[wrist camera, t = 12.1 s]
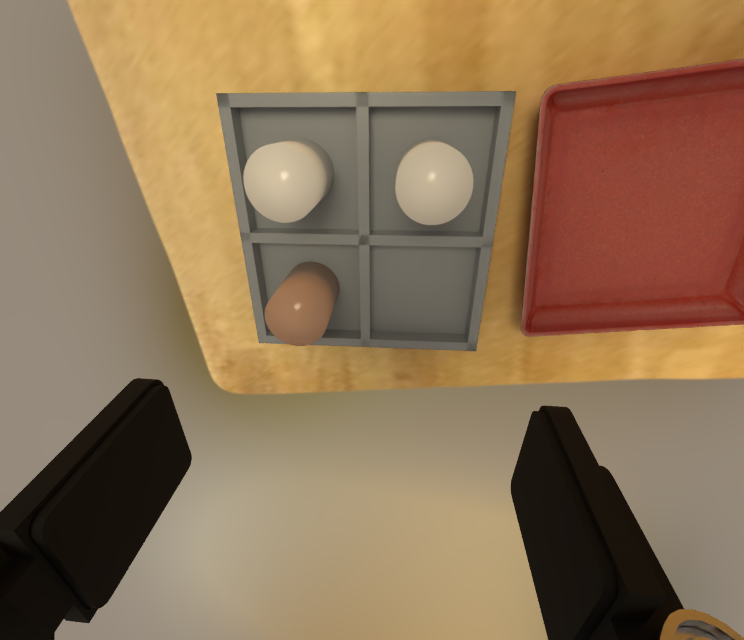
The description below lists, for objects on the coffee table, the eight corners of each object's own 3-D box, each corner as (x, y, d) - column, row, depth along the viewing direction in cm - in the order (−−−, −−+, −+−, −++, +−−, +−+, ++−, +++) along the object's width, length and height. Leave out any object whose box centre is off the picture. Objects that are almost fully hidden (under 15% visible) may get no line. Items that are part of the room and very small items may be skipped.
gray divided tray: (230, 95, 27) (216, 93, 25) (507, 93, 26) (516, 91, 23) (267, 330, 36) (258, 342, 34) (471, 337, 35) (476, 351, 33)
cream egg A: (269, 138, 27) (237, 143, 22) (332, 138, 27) (314, 143, 22) (277, 203, 29) (249, 222, 24) (335, 204, 29) (320, 223, 24)
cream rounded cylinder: (397, 138, 27) (396, 143, 21) (463, 138, 26) (478, 144, 21) (396, 204, 29) (394, 224, 24) (456, 205, 28) (468, 225, 23)
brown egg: (284, 260, 32) (260, 289, 26) (338, 261, 31) (324, 291, 26) (290, 309, 34) (269, 344, 29) (340, 311, 34) (328, 347, 28)
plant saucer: (729, 306, 32) (762, 325, 29) (510, 320, 34) (520, 339, 31) (825, 48, 24) (884, 39, 21) (526, 89, 26) (541, 85, 23)
